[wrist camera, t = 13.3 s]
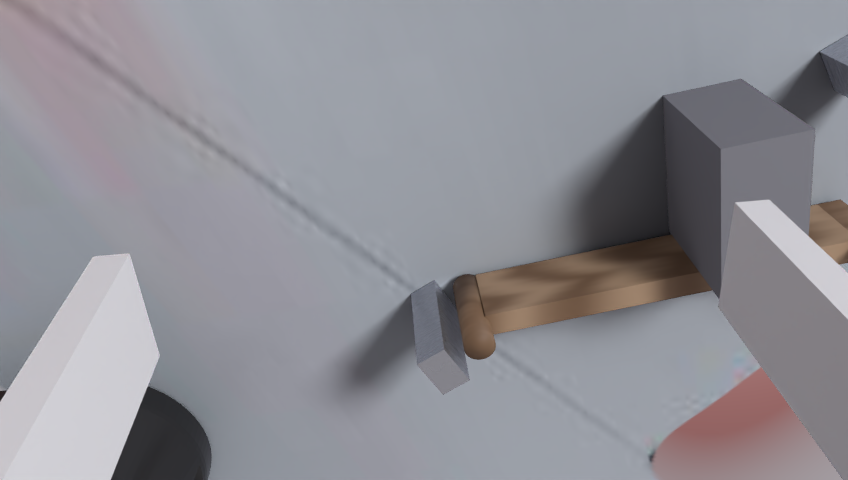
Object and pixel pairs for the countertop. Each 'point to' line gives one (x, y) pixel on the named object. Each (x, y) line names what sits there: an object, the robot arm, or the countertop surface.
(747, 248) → the robot arm
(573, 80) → the countertop surface
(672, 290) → the gate
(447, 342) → the grey blocks
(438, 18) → the countertop surface
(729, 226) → the rubber block
